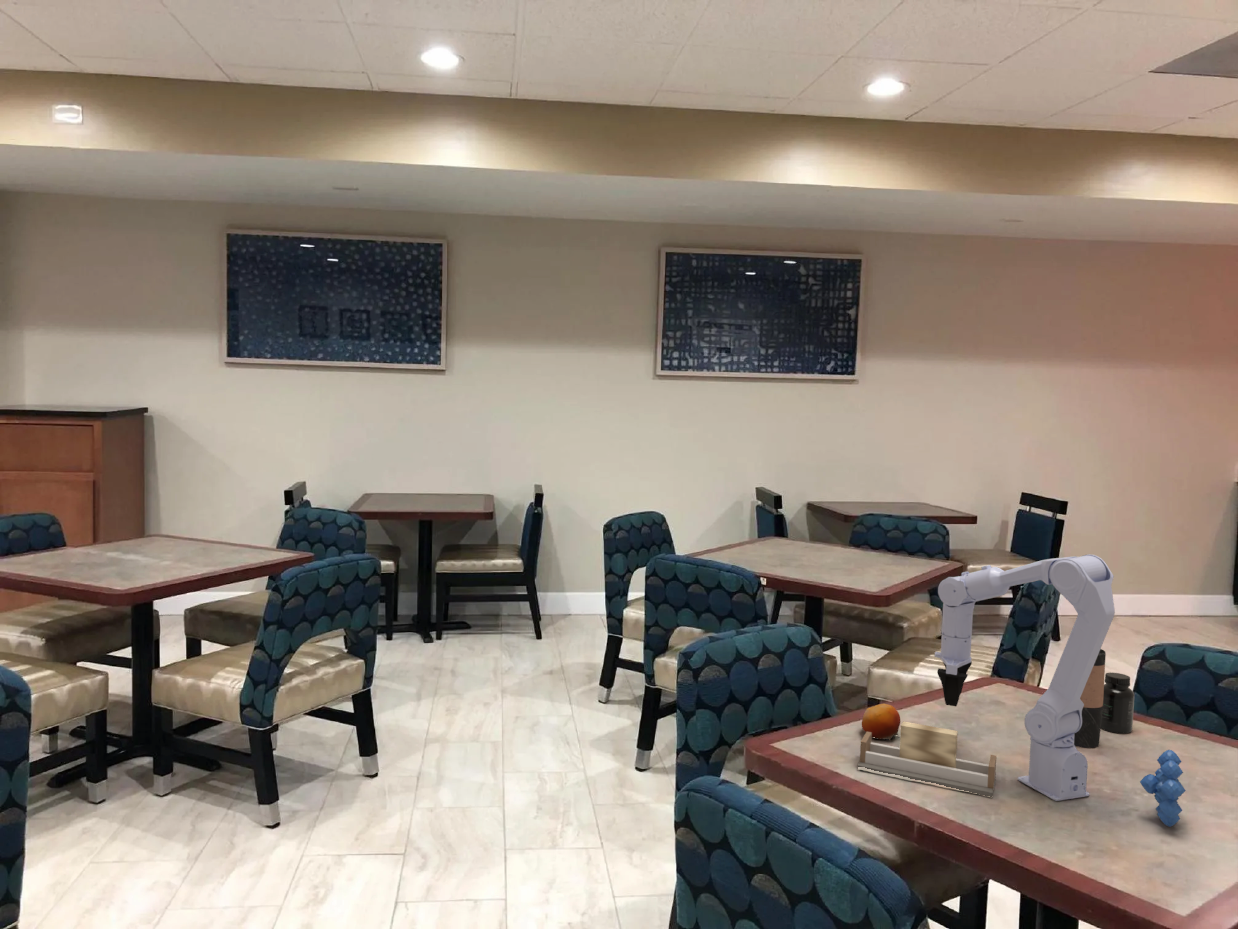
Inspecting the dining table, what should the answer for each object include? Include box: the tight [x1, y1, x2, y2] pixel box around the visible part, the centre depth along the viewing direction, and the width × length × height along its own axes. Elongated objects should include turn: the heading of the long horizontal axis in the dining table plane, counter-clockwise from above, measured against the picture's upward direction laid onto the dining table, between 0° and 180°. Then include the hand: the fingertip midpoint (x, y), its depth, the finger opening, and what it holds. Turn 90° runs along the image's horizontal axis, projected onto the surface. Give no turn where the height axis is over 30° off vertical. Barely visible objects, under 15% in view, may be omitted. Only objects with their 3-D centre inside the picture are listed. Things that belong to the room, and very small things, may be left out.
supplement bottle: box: [1100, 671, 1135, 735], centre depth 193 cm, size 7×7×12 cm
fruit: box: [861, 703, 901, 741], centre depth 186 cm, size 8×8×8 cm
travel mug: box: [1074, 648, 1107, 749], centre depth 185 cm, size 8×8×20 cm
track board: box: [857, 732, 997, 798], centre depth 167 cm, size 24×10×5 cm, turn 63°
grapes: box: [1139, 749, 1186, 828], centre depth 150 cm, size 12×7×12 cm, turn 152°
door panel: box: [899, 721, 959, 768], centre depth 167 cm, size 10×2×8 cm, turn 63°
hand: (953, 699), depth 179 cm, fingers open, 7 cm apart
